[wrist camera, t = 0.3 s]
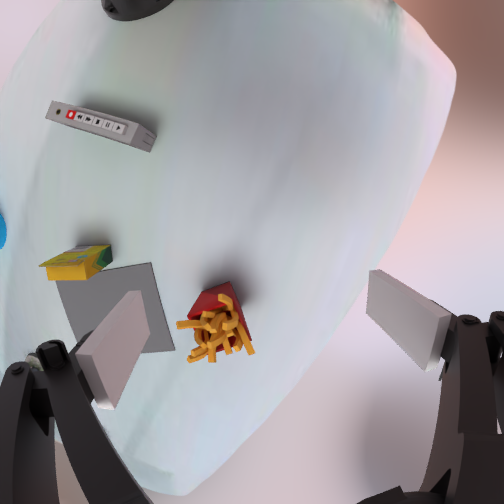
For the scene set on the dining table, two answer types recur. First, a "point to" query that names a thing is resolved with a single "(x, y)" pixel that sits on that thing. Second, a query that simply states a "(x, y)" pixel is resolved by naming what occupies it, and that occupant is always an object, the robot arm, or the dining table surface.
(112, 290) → the mat
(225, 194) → the dining table surface
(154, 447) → the dining table surface
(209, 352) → the french fries
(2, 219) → the mug
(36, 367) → the figurine
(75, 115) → the cassette player
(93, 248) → the crayon box
